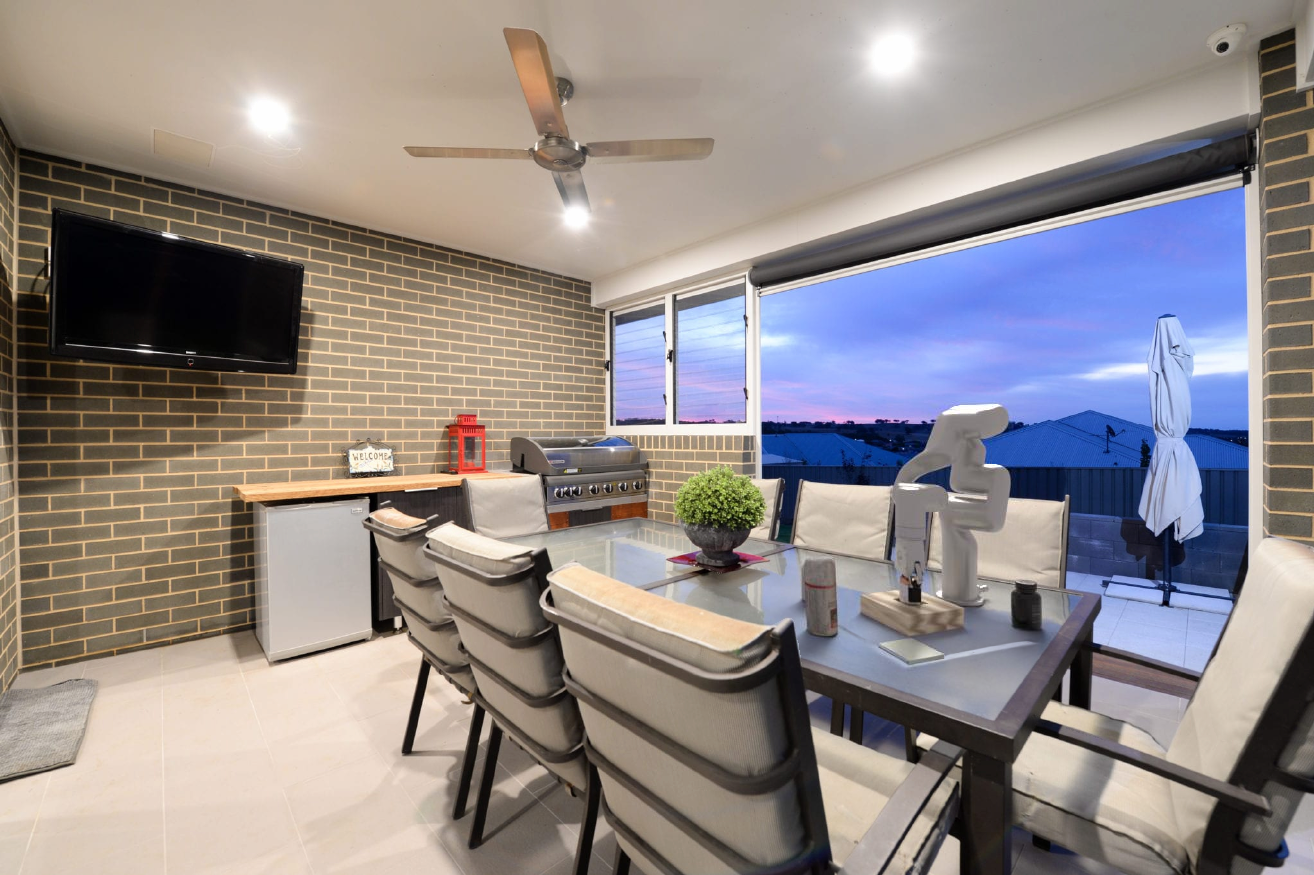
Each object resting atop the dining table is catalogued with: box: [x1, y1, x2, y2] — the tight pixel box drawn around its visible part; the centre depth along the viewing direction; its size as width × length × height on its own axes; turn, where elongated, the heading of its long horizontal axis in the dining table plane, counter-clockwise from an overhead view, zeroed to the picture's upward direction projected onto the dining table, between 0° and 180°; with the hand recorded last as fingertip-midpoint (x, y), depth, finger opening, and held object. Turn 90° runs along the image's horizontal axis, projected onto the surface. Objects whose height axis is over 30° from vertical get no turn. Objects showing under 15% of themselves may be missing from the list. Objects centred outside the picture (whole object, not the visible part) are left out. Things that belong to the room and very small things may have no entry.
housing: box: [859, 589, 965, 638], centre depth 145 cm, size 18×18×6 cm
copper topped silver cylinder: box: [898, 576, 921, 606], centre depth 145 cm, size 5×5×11 cm
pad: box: [877, 637, 945, 666], centre depth 126 cm, size 10×10×1 cm
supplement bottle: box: [1010, 579, 1043, 632], centre depth 142 cm, size 7×7×12 cm
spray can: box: [804, 554, 839, 637], centre depth 140 cm, size 8×8×20 cm
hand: (910, 597), depth 145 cm, fingers closed on copper topped silver cylinder, 5 cm apart
